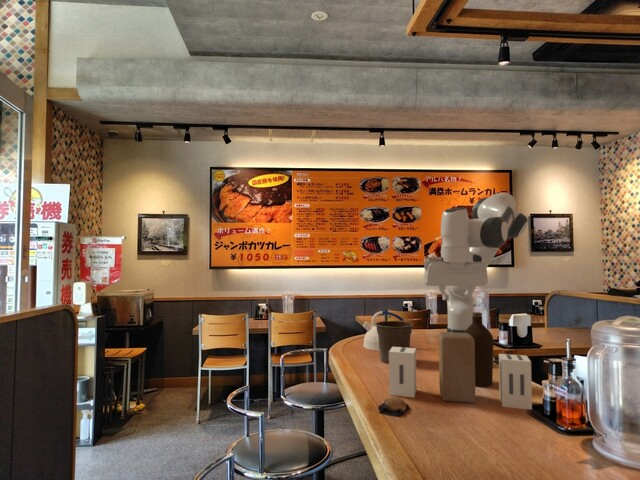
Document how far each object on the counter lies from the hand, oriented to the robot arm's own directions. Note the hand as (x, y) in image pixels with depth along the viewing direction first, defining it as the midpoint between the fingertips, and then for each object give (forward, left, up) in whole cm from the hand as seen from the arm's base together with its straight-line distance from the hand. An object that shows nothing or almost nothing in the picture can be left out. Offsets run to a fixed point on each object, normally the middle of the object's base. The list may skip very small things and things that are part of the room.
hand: (455, 299), depth 133 cm
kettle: (-28, -72, -32) cm, 83 cm away
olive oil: (-19, -7, -31) cm, 37 cm away
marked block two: (-11, +13, -31) cm, 35 cm away
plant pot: (-14, -47, -31) cm, 58 cm away
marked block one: (+12, -13, -31) cm, 36 cm away
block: (0, 0, -31) cm, 31 cm away
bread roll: (+24, -2, -32) cm, 40 cm away
